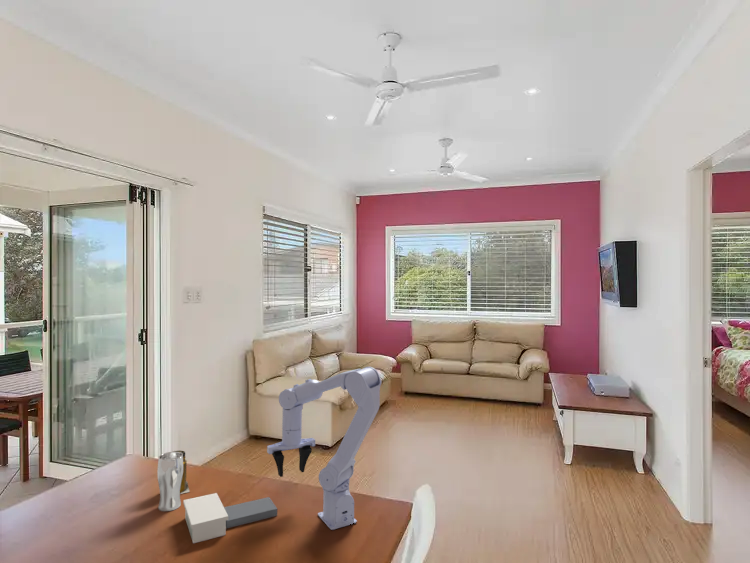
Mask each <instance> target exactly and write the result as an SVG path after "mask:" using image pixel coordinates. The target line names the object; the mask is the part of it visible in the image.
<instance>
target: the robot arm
mask: <svg viewBox="0 0 750 563" xmlns="http://www.w3.org/2000/svg"><path fill="white" fill-rule="evenodd" d="M382 382H383V381H382V379H381V377H380V374H379V372H378V370H377V369H376V368H374V367H372V366H365V367H363V368H362V369H361V368H356V369H352V370H347V371H343V372H341V373H338V374H336V375H333V376H331V377H328V378H326V379H324V380H321V381H320V380H318V379H312V378H309V379H305V381H304V382H303V383H301V384H298V383H296V384H293V387H290V388H286V389H284V390H282V391H281V392H280V393H279V395H278V402H279V405H280V406H281V408H282V418H281V419H282V424H281V425H282V426H281V427H282V428H281V429H282V430H281V432H282V433H281V434H282V436H281V437H282V438H281V441H279V442H276V443H272V444H270V445H267V446H266V452H267V453H268V455H272V457H273V460H274V462H275V464H276V468H277V473H278V476H279V477H280V478H281V477H282V478H283V477H284V462H285V455H284V454H283V452H285V451H290V450H296V449H298V456H299V462H298V463H299V464H298V465H299V471H300V472H301V473H304V472H305V470H306V469H305V468H306V466H307V462H308V459H309V457H310V456H311V454H312V447H316V439H315V438H314V437H309V438H307V437H306V438H302V430H303V428H302V427H303V426H302V422H303V420H302V416H303V409H304V405H305V404H308V403H310V402H313V401H315V400H319V399H321V397H322V396H323V394H324V393H325V392H327V391H330V390H333V389H336V388H339V387H340V388H341V389H342V390H343V391H347V393H348V394H349V396H351V398H352V399H353V401H354V402H355V404H356V405H357V407H358V408H357V409H356V411H355V414H354V416H353V418H352V420H351V422H350V424H349V426H348V428H347V430H346V432H345V434H344V436H343V438H342V440H341V442H340V445H339V446H338V449H337V451H336V452H335V454H334V455H333V456H332V457H331V459H330V460H329V461H328V462H327V464H326V466H325V467H323V468H322V469H321V470H320V471H319V472H318V481H319V484H320V486H321V488H322V491H323V494H322V495H323V496H322V497H323V500H322V501H323V502H322V503H323V505H322V506H323V509H322V511H320V512H317V516H318V517H319V518H320V519H321V521H322V522H324V524H326V526H327V527H328V528H329V529H330V531H331V530H332V531H334V530H336V529H337V530H338V529H340V528H343V527H348V526H350V524H351V525H353V523H354V524H357V523H358V520H357V519H356V518H355V500H354V497H353V495H351V492H350V479H351V478H352V477H353V475H354V472H355V470H354V468H355V467H354V466H355V464H356V459H355V458H356V456H357V454H358V451H359V450H360V448H361V446H362V444H363V442H364V440H365V437H367V433H368V432H369V429H370V428H371V426H372V424H373V423H374V422H373V421H374V419H375V418H376V416H377V414H378V412H379V410H380V407H381V405H380V404H381V403H380V402H381V401H380V400H381V399H380V398H381V397H380V396H381V390H380V389H381V386H382ZM356 522H357V523H356Z"/></svg>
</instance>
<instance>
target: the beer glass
mask: <svg viewBox="0 0 750 563" xmlns="http://www.w3.org/2000/svg"><path fill="white" fill-rule="evenodd" d="M156 474H157V481H158V482H157V483H158V487H159V488H158V489H159V494H160V495H159V503H158V510H159V511H160V512H172V511H175V510H177V509H179V508H180V507H181V505H182V501H181V494H180V487H181V482H182V476H183V453H181V452H173V451H169V452H164V453H162V454H160V455H159V456H158V461H157V472H156Z"/></svg>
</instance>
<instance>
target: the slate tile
mask: <svg viewBox="0 0 750 563" xmlns="http://www.w3.org/2000/svg"><path fill="white" fill-rule="evenodd" d="M224 508H225V510H226V512H227V514H228V520H226V529H229V528H230V529H231V528H233V527H238V526H243V525H245V524H250V523H253V522H254V523H255V522H258V521H262V520H266V519H269V518H274V517H277V516H278V508H277V506H276V504H275V503H274V501H273V500H272V499H271V498H270V496H267V497H263V498H259V499H255V500H254V499H253V500H249V501H245V502H242V503H237V504H233V505H228V506H224Z"/></svg>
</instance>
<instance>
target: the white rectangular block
mask: <svg viewBox="0 0 750 563" xmlns="http://www.w3.org/2000/svg"><path fill="white" fill-rule="evenodd" d="M182 504H183V507H184V510H185V515H184V516H185V518H184V519H185V521H186V526H187V528H188V532H189V535H190V538H191V540H192V541H191V542H192V544H196V543H197V544H198V543H200V542H204V541H208V540H211V539H215V538H219V537H224V536H226V532H227V531H226V530H227V528H226V520H228V514H227V512H226V510H225V508H224V507H225V506H224V504H223V503H222V501H221V498H220V496H219V495H218V492H214V493H210V494H205V495H200V496H197V497H193V498H192V497H191V498H187V499H183V502H182Z"/></svg>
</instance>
